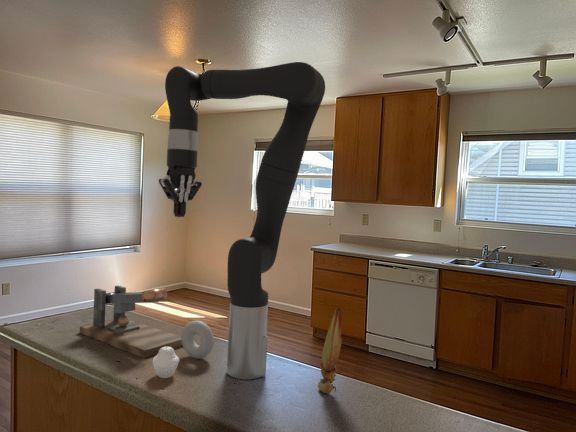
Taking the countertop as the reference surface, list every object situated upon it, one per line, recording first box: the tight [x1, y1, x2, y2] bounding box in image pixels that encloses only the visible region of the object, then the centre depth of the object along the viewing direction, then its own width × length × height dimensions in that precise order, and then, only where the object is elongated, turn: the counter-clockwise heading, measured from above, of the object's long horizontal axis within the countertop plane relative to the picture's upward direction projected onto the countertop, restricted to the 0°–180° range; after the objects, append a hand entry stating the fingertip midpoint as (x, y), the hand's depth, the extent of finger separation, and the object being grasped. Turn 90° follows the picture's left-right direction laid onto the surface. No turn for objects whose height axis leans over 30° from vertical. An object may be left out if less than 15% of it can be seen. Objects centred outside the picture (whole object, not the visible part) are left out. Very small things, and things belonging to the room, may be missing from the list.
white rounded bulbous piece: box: [152, 346, 180, 379], centre depth 106 cm, size 6×6×7 cm
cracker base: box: [79, 285, 183, 359], centre depth 130 cm, size 30×14×13 cm, turn 55°
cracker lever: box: [105, 287, 168, 313], centre depth 130 cm, size 24×6×6 cm, turn 55°
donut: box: [181, 320, 215, 360], centre depth 118 cm, size 10×4×10 cm, turn 61°
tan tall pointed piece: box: [317, 306, 343, 395], centre depth 100 cm, size 7×5×20 cm
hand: (179, 216), depth 115 cm, fingers closed
